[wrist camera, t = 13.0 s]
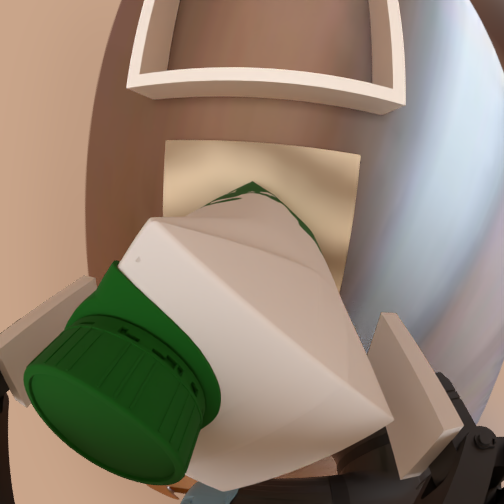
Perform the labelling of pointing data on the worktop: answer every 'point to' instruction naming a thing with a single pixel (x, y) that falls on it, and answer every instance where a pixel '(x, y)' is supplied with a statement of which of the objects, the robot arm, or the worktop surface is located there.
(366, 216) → the worktop surface
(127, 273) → the soya milk
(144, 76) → the equipment case
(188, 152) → the wooden mat
